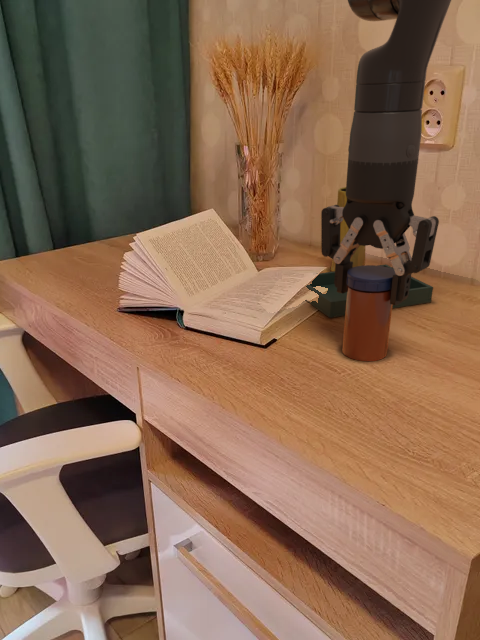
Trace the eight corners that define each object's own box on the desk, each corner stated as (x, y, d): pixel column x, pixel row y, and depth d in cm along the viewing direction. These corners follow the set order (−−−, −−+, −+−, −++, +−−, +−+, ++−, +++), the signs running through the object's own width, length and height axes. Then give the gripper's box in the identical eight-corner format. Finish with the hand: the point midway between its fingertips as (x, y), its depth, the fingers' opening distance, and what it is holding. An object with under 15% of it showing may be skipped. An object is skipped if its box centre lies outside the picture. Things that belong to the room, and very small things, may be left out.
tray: (384, 278, 103) (386, 264, 102) (431, 302, 92) (433, 286, 91) (292, 291, 100) (293, 276, 99) (329, 318, 88) (330, 302, 87)
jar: (372, 340, 80) (379, 267, 76) (395, 357, 76) (405, 279, 71) (334, 347, 79) (339, 272, 74) (355, 364, 74) (362, 285, 70)
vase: (343, 263, 112) (349, 184, 105) (371, 269, 108) (379, 188, 101) (323, 271, 108) (328, 190, 102) (352, 278, 104) (359, 193, 98)
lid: (379, 274, 76) (380, 262, 76) (405, 288, 71) (407, 275, 71) (337, 280, 75) (338, 268, 74) (361, 294, 70) (362, 282, 69)
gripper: (461, 154, 64) (439, 301, 72) (344, 148, 73) (335, 279, 81) (430, 163, 59) (409, 319, 67) (309, 155, 69) (303, 293, 76)
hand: (369, 296), depth 74 cm, fingers open, 6 cm apart
